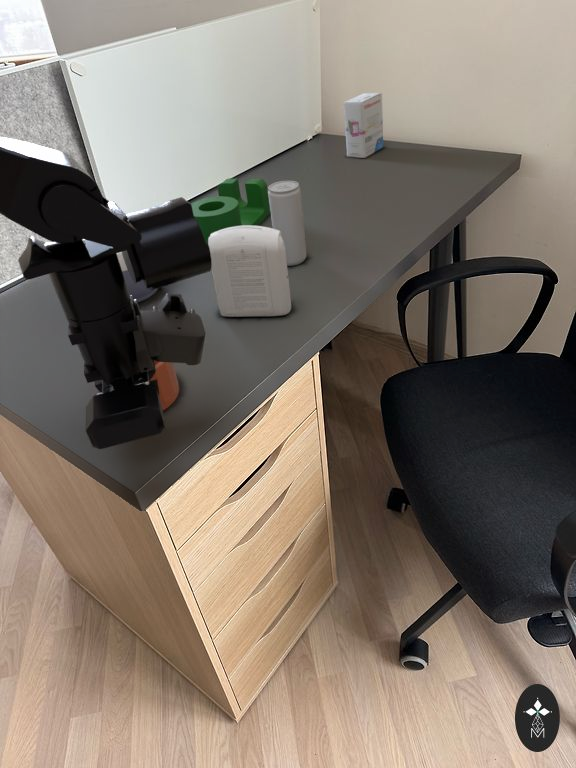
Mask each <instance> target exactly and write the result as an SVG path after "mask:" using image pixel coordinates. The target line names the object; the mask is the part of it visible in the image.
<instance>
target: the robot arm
mask: <svg viewBox="0 0 576 768" xmlns="http://www.w3.org/2000/svg"><path fill="white" fill-rule="evenodd" d="M191 204H192V203H191V202H189V201H188V200H186V199H185V198H184V197H183V196H180V197H176V198H173V199H170V200H168V201H166V202H164V203H163V204H160V205H156V206H154V207H150V208H146V209H142V210H139V211H135V213H132V212H130V213H131V214H128V215H125V214H124V213H125V212H124V211H123V210H122V209H121V208H120V207H119V206H118V204H117V203H116V202H115V201H110V200H108V199H107V198H106V197H105V196H103V194H102V192H101V189H100V187H99V185H98V183H97V182H96V181H95V180H94V179H93V178H92V176H91V175H90V174H89V172H87V170H86V169H85V168H84V167H83V166H82V165H81V164H80V163H79V162H78V160H76V158H74V157H72V156H71V155H69V154H68V153H66V152H63V151H61V150H57V149H53V148H49V147H46V146H42V145H39V144H35V143H31V142H28V141H23V140H20V139H14V138H8V137H3V136H0V214H1V215H2V216H3V217H4V218H6V219H8V220H10V221H12V222H13V223H15V224H17V225H19V226H21V227H23V228H24V229H26V230H29V231H30V232H32V233H34V234H36V235H38V236H39V237H41V238H43V239H45V240H48V241H50V242H45V241H41V240H40V239H37V238H35V237H34V236H29V238H28V239H27V245H26V246H25V249H24V250H23V252H22V254H21V255H20V256H19V257H18V259H17V260H18V261H17V262H18V264H19V268H20V271H21V274H22V276H23V278H24V279H25V280H33V279H36V278H39V277H40V278H41V277H43V276H46V275H48V276H49V279H50V281H51V283H52V285H53V289H54V291H55V294H56V296H57V298H58V301H59V302H60V303H59V304H60V305H61V308H62V311H63V313H64V315H65V318H66V321H67V322H68V331H67V336H68V339H69V341H70V344H71V346H75V345H77V347H78V350H79V352H80V355H81V357H82V360H83V375H84V378H85V380H86V383H87V384H89V383H93V382H94V381H95V382H94V387H95V388H96V390H97V389H98V390H99V391H100V393H99V392H98V393H96V394H94V395H93V396H92V397H91V398H90V399H89V401H88V403H87V404H86V406H85V432H86V435H87V437H88V440H89V442H90V444H91V446H92V448H95V449H97V450H99V451H100V450H104V449H108V448H111V447H114V446H120V445H122V444H126V443H131V442H133V441H138V440H142V439H144V438H149V437H152V436H153V437H154V436H156V435H160V434H161V433H162V432H163V431H164V430H165V429H166V423H165V416H164V410H163V409H162V405H161V401H160V398H159V387H158V381H157V379H155V380H151V379H152V377H153V375H154V374H155V372H156V369H155V362H154V360H155V361H158V362H171V363H173V364H177V363H178V364H185V365H186V366H198V365H200V364H201V362H202V357H203V352H204V351H203V350H204V345H205V339H206V330H205V325H204V323H203V320H202V317H201V316H200V315H199V314H197V313H196V311H195V309H190V310H189V311H188V309H187V306H186V303H185V301H184V298H183V296H182V294H180V293H169V292H167V293H165V295H164V296H163V298H162V299H161V300H160V302H159V303H158V304H157V306H155V305H154V306H152V310H141V308H140V306H139V302H137V299H134V300H133V297H132V295H131V296H130V294H129V291H128V288H127V285H126V282H125V279H124V276H123V272H122V269H121V266H120V263H119V260H118V257H117V253H119V252H122V255H123V258H124V261H125V264H126V267H127V269H128V272H129V274H130V276H131V278H132V280H133V281H134V283H138V282H141V281H142V280H143V282H144V284H145V286H146V288H147V289H148V288H149V289H150V290H154V289H157V288H158V289H161V288H164V287H166V286H170V285H172V284H175V283H178V282H181V281H185V280H188V279H191V278H195V277H197V276H200V275H203V274H207V273H210V272H211V271H212V268H211V267H212V262H211V254H210V249H209V245H208V243H207V242H206V241H205V240H204V237H203V234H202V231H201V229H200V226H199V224H198V222H197V220H196V219H195V217H194V215H193V210H192V205H191ZM82 239H85V240H82ZM158 289H157V290H158ZM150 380H151V381H150ZM98 390H97V391H98Z"/></svg>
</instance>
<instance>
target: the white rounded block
mask: <svg viewBox="0 0 576 768" xmlns="http://www.w3.org/2000/svg"><path fill="white" fill-rule="evenodd" d="M208 245H209V249H210V254H211V262H212V267H211V273H212V279H213V283H214V288H215V293H216V298H217V304H218V309H219V313H220V315H221V316H222V317H230V318H231V317H232V318H233V317H237V318H238V317H239V318H240V317H241V318H242V317H279V316H285V315H286V316H287V314H289V313H290V312H291V310H292V301H291V291H290V290H291V289H290V279H289V270H288V266H287V261H286V252H285V245H284V241H283V239H282V235H281V232H280V231H279V230H276V229H273V227H268V226H264V225H263V226H261V225H259V226H252V225H244V226H234V227H229V228H225V229H222V230H219V231H216V232H214V233H212V234H211V235H210V237H209V238H208Z"/></svg>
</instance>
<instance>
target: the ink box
mask: <svg viewBox="0 0 576 768" xmlns="http://www.w3.org/2000/svg"><path fill="white" fill-rule="evenodd" d="M343 111H344V114H343V115H344V126H345V127H344V128H345V142H346V144H345V145H346V157H350V158H358V159H359V158H360V159H365V158H367V157H369V156H371V155H373V154H374V153H376V152H378V151H380V150H381V149H383V148H384V122H383V121H384V120H383V119H384V118H383V93H381V92H364V93H361V94H359V95H357V96H354V97H352V98H349V99H348V100H345V101H343Z"/></svg>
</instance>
